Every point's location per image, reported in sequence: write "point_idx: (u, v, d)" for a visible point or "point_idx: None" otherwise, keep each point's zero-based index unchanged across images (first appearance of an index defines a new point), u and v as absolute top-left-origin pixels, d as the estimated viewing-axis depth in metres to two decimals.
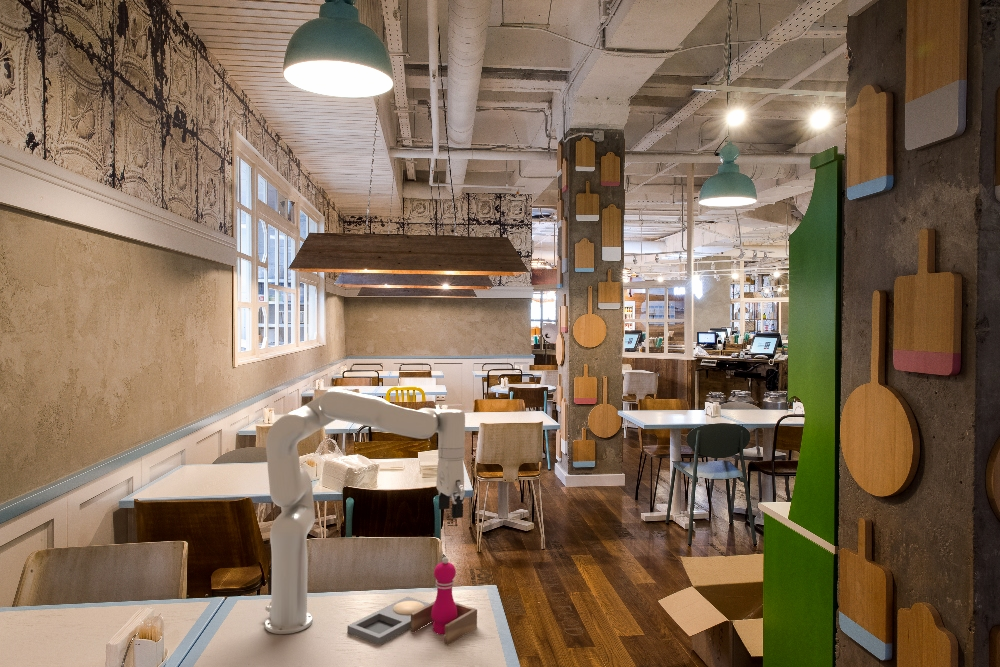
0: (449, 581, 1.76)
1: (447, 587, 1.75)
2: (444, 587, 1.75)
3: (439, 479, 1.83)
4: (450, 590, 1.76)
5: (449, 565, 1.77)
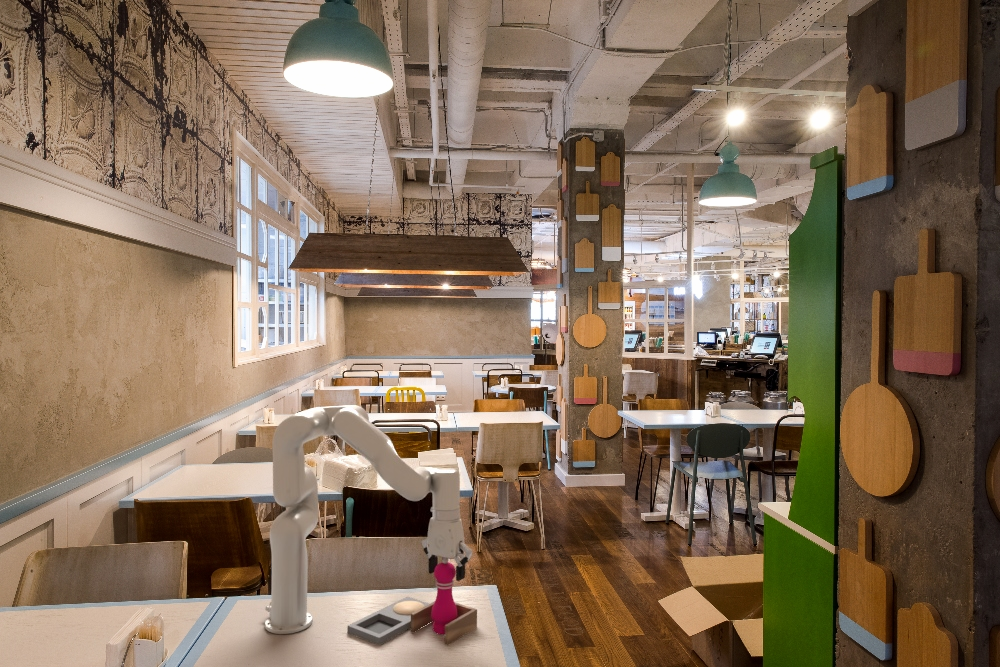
0: (449, 581, 1.76)
1: (447, 587, 1.75)
2: (444, 587, 1.75)
3: (434, 543, 1.76)
4: (450, 590, 1.76)
5: (449, 565, 1.77)
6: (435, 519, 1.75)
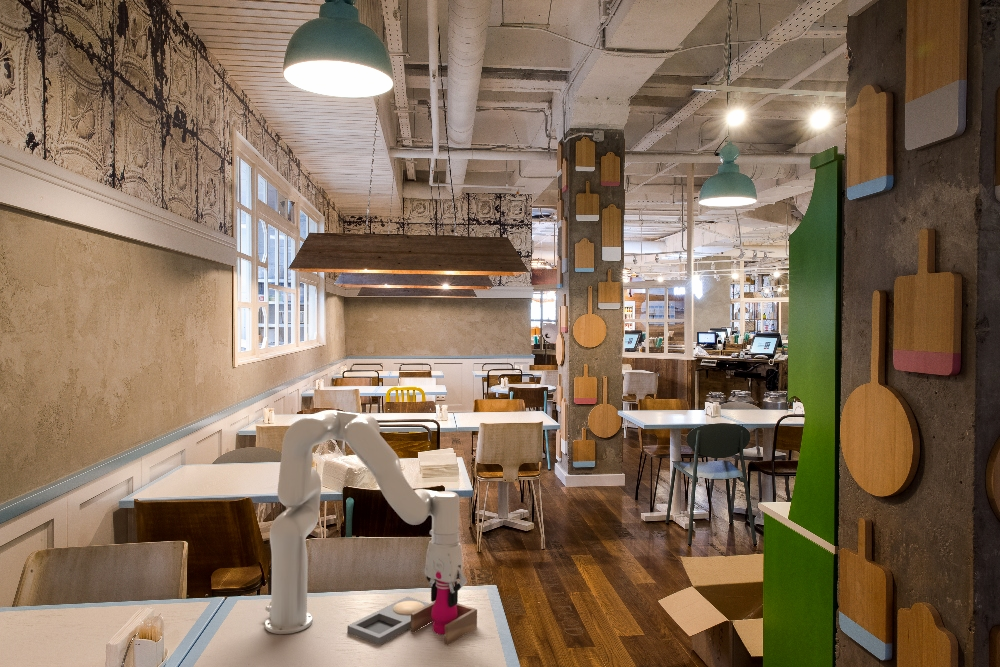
0: None
1: (447, 587, 1.75)
2: (444, 587, 1.75)
3: (432, 566, 1.76)
4: None
5: None
6: (434, 543, 1.75)
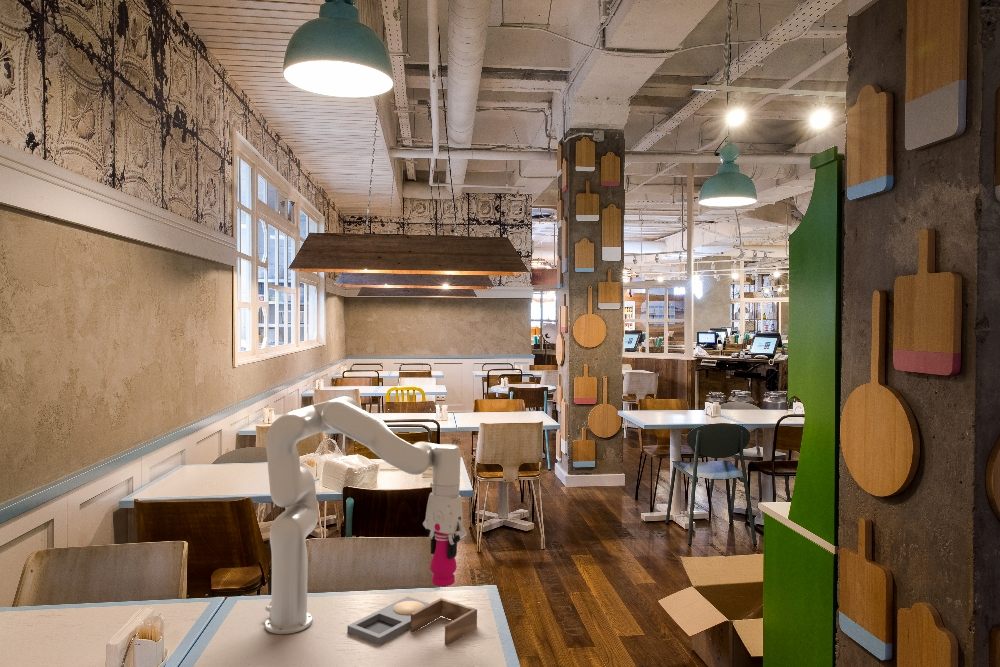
0: None
1: (446, 539, 1.75)
2: (443, 539, 1.75)
3: (433, 518, 1.76)
4: (449, 542, 1.77)
5: None
6: (434, 494, 1.75)
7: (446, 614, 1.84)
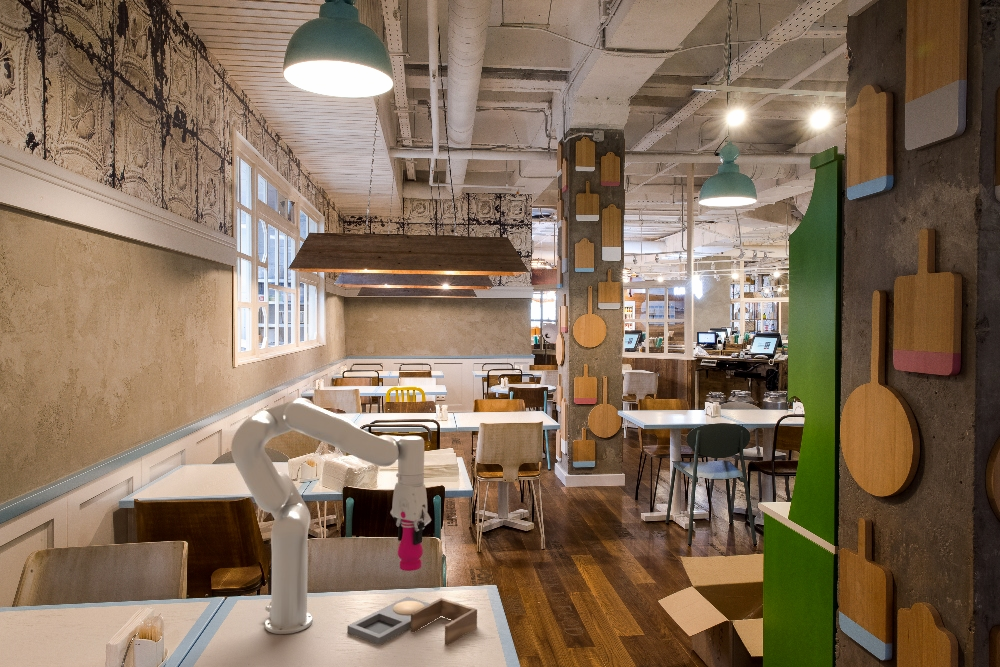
0: None
1: (412, 526, 1.84)
2: (409, 526, 1.84)
3: (398, 506, 1.85)
4: None
5: None
6: (400, 483, 1.84)
7: (446, 614, 1.84)
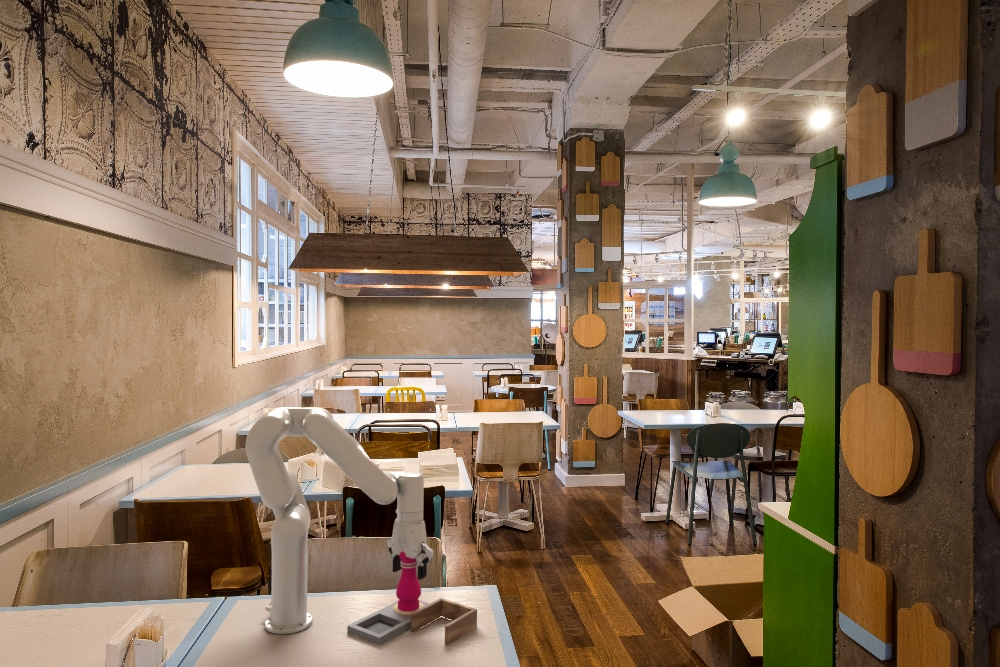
0: (413, 561, 1.84)
1: (411, 566, 1.84)
2: (408, 566, 1.84)
3: (398, 543, 1.85)
4: (414, 569, 1.85)
5: None
6: (399, 520, 1.84)
7: (446, 614, 1.84)
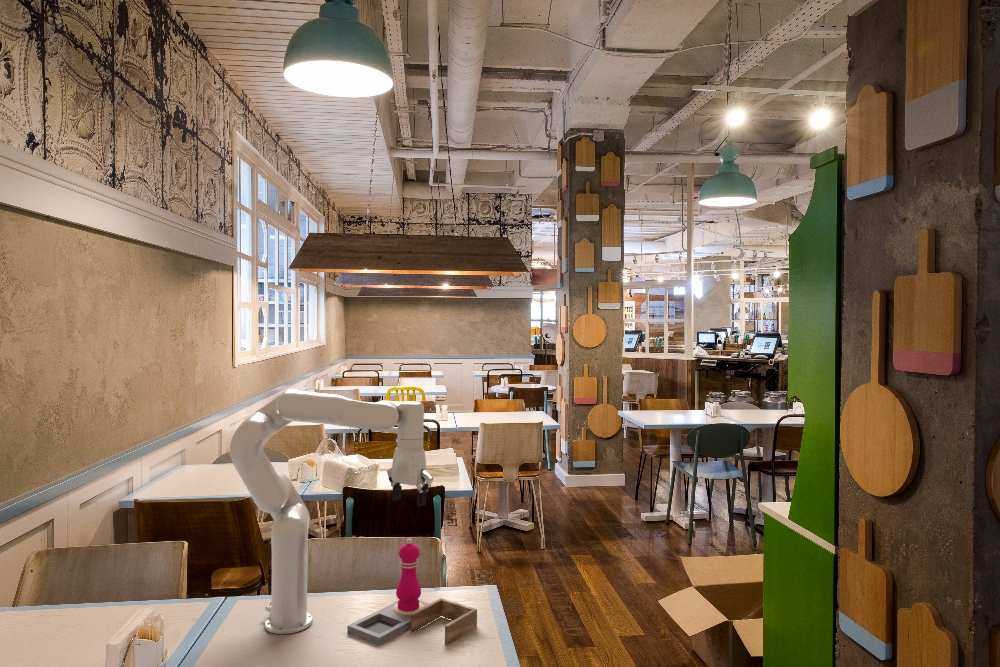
0: (413, 561, 1.84)
1: (411, 566, 1.84)
2: (408, 566, 1.84)
3: (398, 470, 1.86)
4: (414, 569, 1.85)
5: (413, 546, 1.85)
6: (399, 448, 1.85)
7: (446, 614, 1.84)
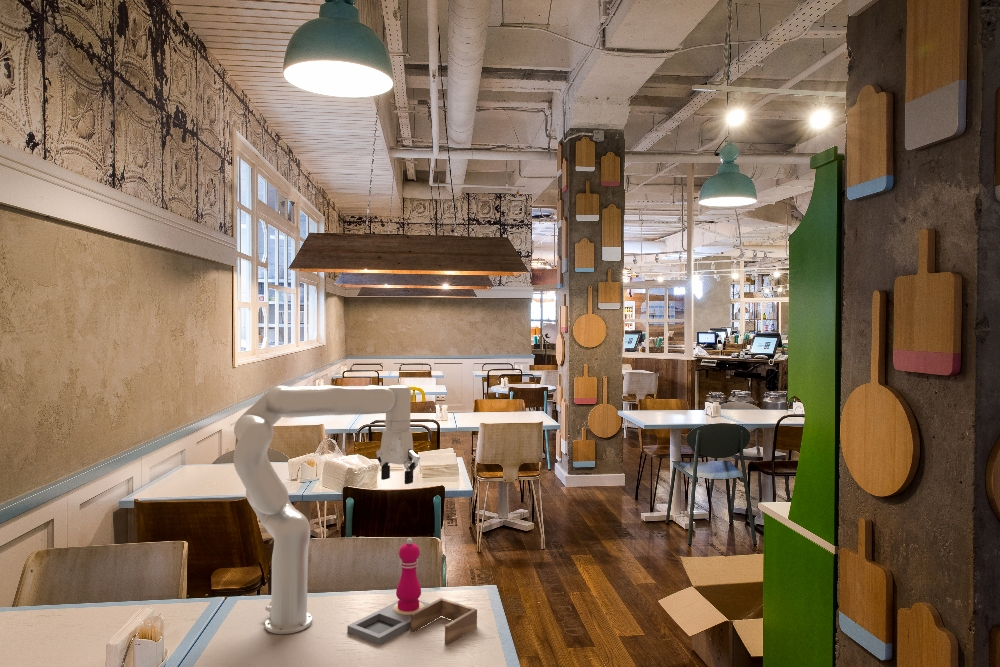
0: (413, 561, 1.84)
1: (411, 566, 1.84)
2: (408, 566, 1.84)
3: (386, 451, 1.96)
4: (414, 569, 1.85)
5: (413, 546, 1.85)
6: (387, 429, 1.95)
7: (446, 614, 1.84)
